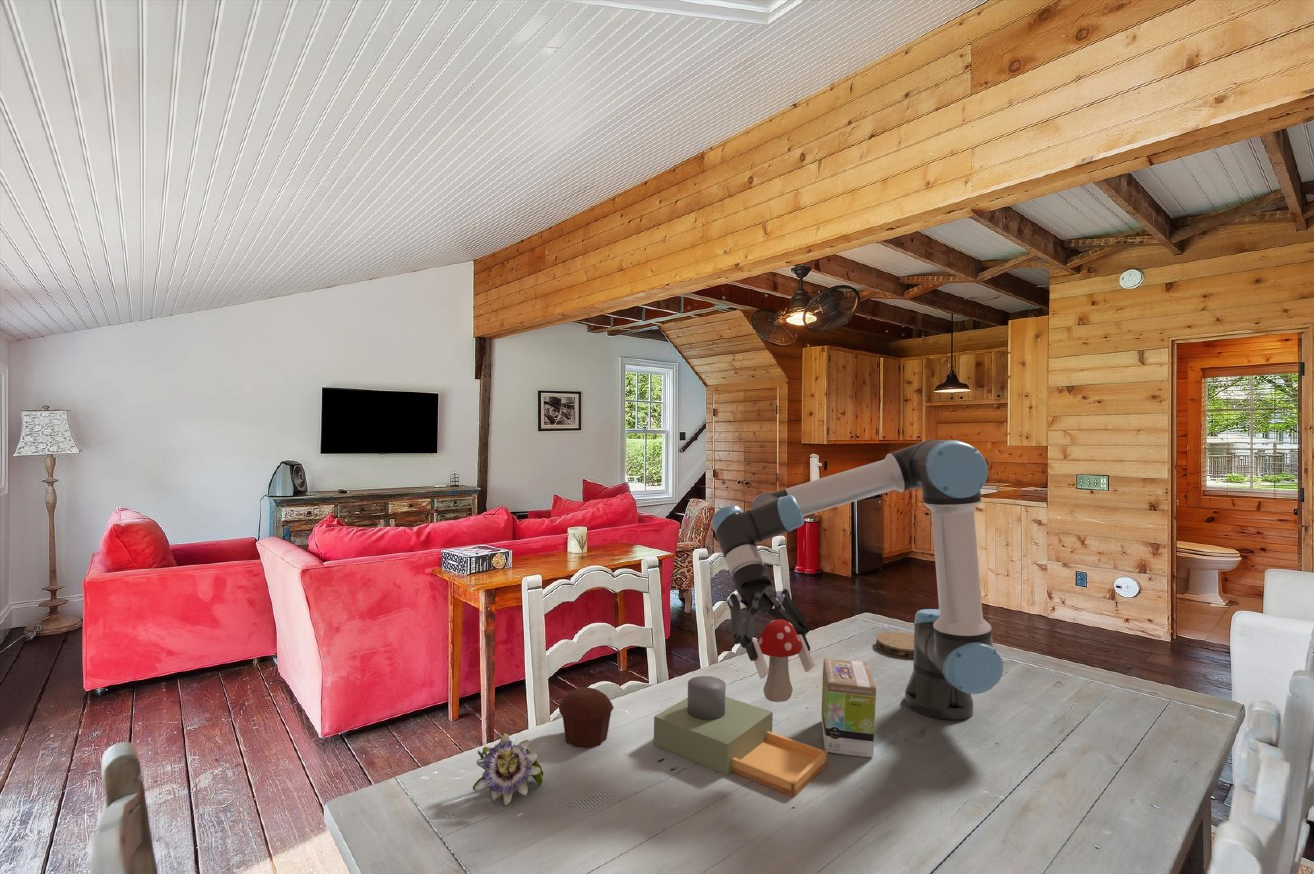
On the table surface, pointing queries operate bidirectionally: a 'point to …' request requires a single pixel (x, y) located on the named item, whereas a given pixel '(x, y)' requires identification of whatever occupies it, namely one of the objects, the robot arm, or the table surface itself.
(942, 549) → the robot arm
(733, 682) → the table surface
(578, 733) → the muffin
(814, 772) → the green drawer box
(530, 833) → the table surface
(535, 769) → the passion flower
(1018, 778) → the table surface
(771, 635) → the decorative mushroom
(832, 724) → the tea box
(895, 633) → the wood slice
